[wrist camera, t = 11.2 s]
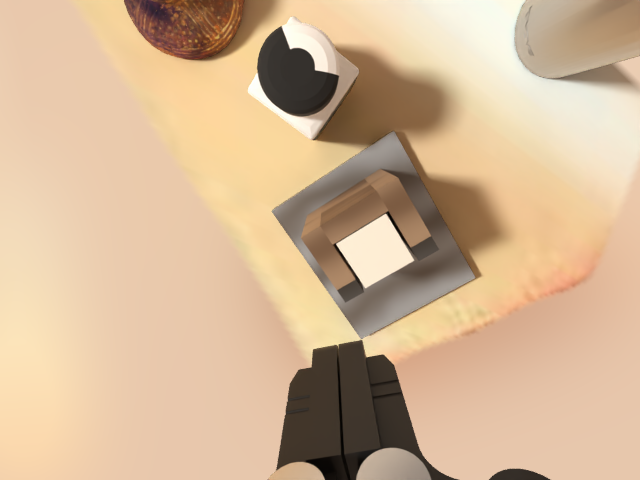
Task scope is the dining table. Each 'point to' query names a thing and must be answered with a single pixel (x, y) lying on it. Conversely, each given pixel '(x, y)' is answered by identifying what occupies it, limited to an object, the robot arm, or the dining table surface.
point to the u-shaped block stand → (358, 210)
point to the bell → (187, 41)
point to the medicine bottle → (302, 77)
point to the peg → (375, 250)
